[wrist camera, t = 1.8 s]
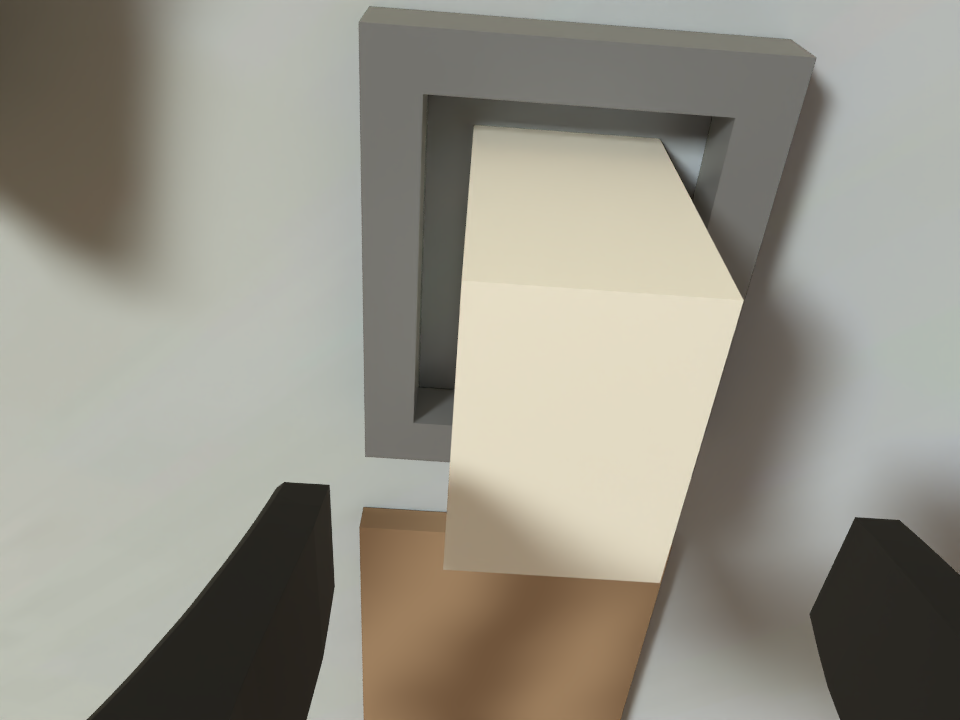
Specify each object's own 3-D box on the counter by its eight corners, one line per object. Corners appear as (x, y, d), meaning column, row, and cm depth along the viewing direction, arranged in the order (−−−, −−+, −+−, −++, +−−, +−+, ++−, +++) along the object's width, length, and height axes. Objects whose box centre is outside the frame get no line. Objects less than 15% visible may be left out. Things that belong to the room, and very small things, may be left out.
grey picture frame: (791, 39, 16) (816, 57, 14) (680, 440, 22) (691, 478, 20) (369, 6, 16) (359, 22, 14) (372, 420, 21) (365, 456, 20)
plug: (659, 138, 17) (743, 300, 11) (613, 367, 20) (659, 583, 15) (473, 124, 17) (461, 280, 11) (458, 356, 20) (443, 569, 14)
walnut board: (666, 526, 23) (672, 546, 23) (599, 762, 31) (601, 783, 30) (363, 507, 23) (359, 527, 22) (367, 749, 30) (364, 770, 30)
